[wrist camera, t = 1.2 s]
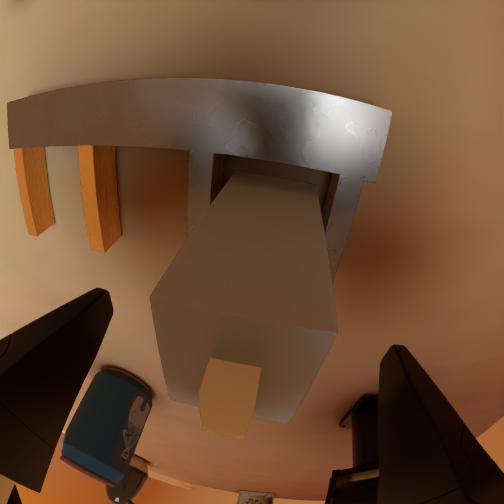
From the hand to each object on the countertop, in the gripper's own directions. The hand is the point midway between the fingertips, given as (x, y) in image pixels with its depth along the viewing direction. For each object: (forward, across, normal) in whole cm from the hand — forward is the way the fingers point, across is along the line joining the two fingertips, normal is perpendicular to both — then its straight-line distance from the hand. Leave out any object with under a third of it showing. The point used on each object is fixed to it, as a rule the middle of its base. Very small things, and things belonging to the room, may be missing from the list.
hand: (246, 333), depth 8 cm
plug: (+7, 0, 0) cm, 7 cm away
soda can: (+8, +12, +21) cm, 26 cm away
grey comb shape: (+7, +6, -2) cm, 10 cm away
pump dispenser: (+8, +22, +65) cm, 69 cm away
